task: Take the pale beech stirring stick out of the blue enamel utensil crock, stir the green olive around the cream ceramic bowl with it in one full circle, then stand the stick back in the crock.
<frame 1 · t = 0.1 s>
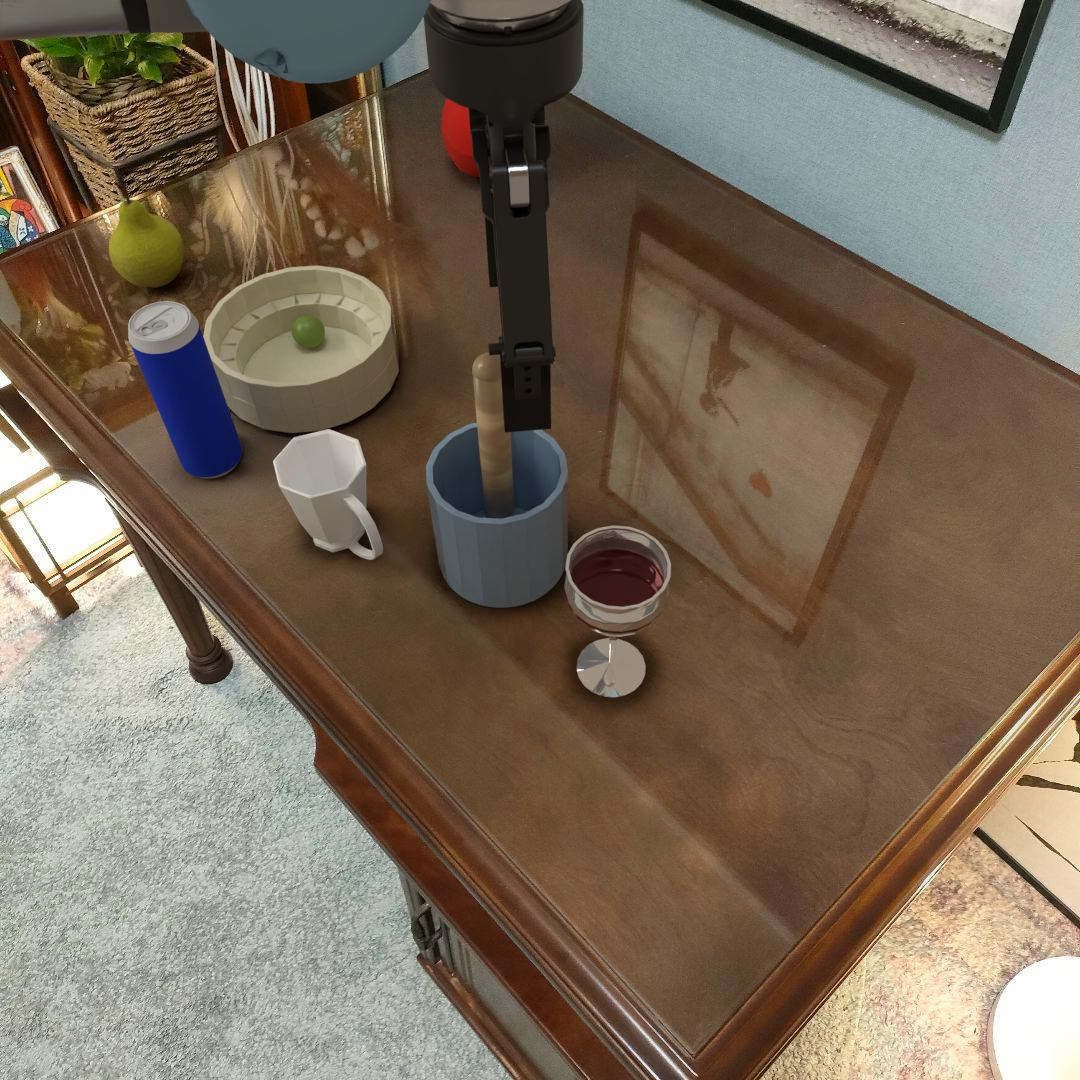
hand: (517, 350, 64), 21 cm above the table, tool pointing down, fingers open, 13 cm apart
bowl: (311, 374, 94), on the table
utensil pot: (503, 555, 80), on the table
stick: (502, 551, 80), point 1 cm above the table, touching utensil pot
fruit: (159, 281, 103), on the table
wineglass: (610, 668, 74), on the table
beverage can: (214, 461, 87), on the table
tomato: (493, 166, 115), on the table
olive: (308, 331, 94), point 2 cm above the table, touching bowl
cup: (348, 543, 81), on the table
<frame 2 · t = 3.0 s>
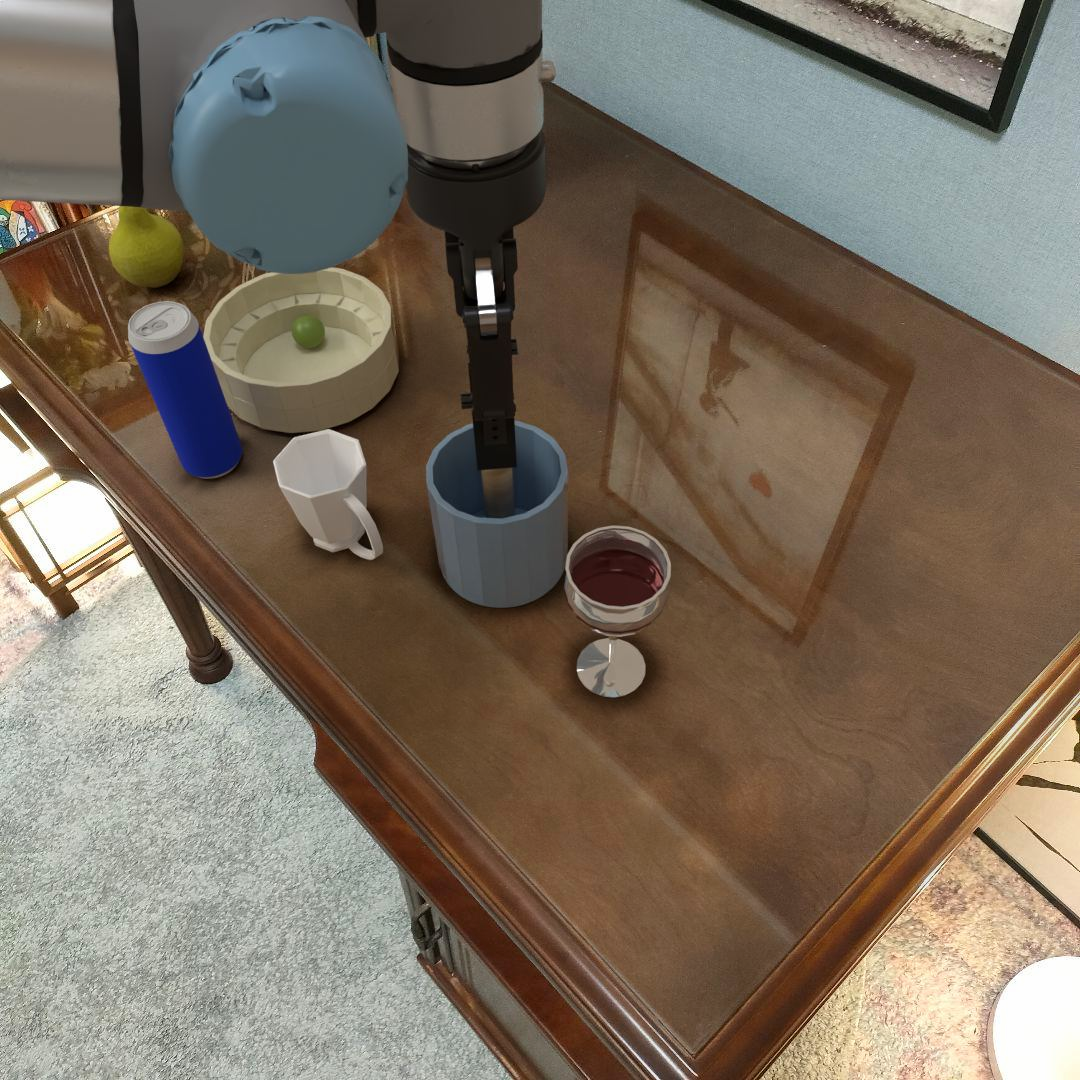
hand: (495, 449, 71), 12 cm above the table, tool pointing down, fingers closed on stick, 2 cm apart
stick: (502, 551, 80), point 1 cm above the table, touching gripper, utensil pot
everything else where it was.
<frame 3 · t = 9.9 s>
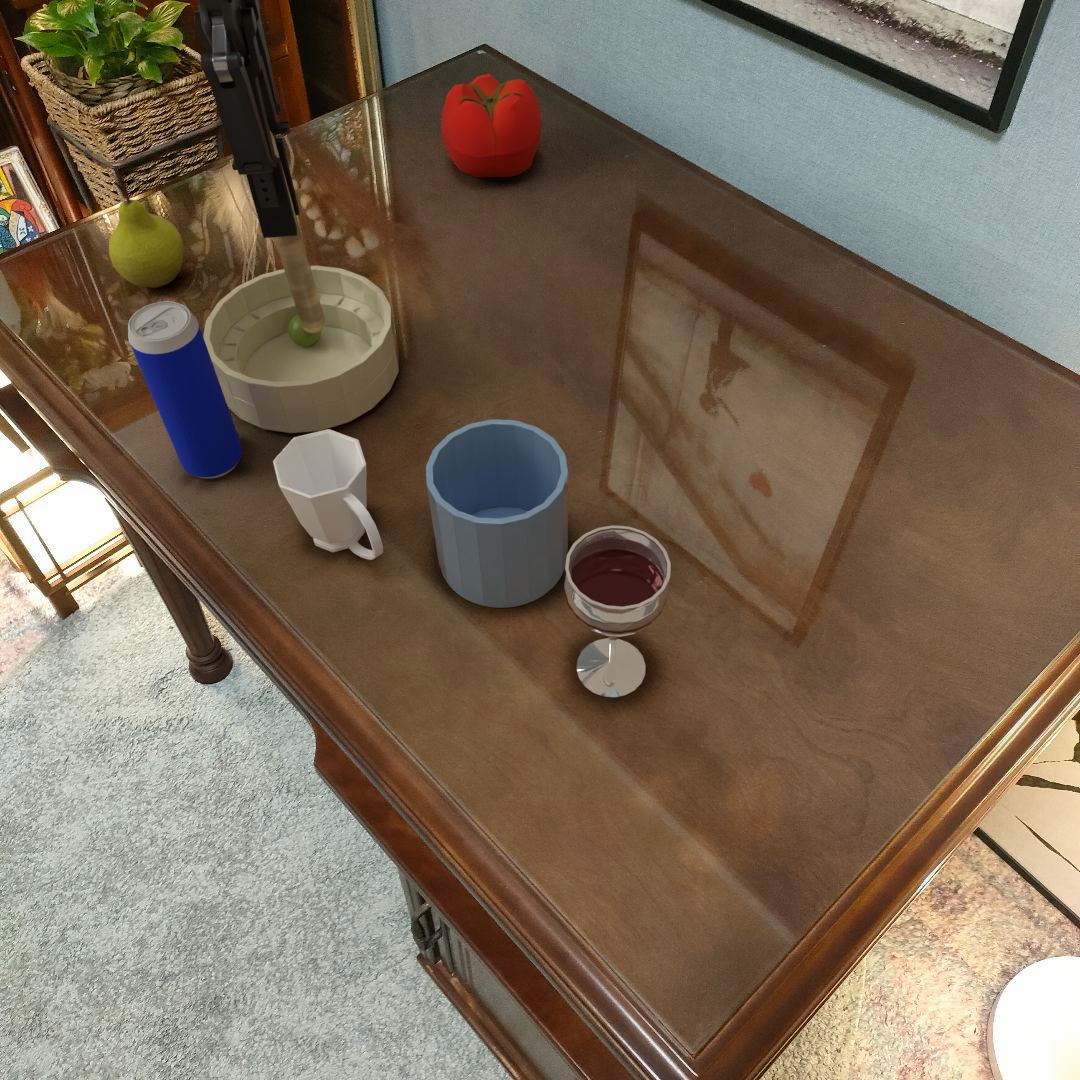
hand: (281, 223, 84), 14 cm above the table, tool pointing down, fingers closed on stick, 2 cm apart
stick: (315, 330, 93), point 3 cm above the table, touching gripper, olive
olive: (304, 330, 94), point 2 cm above the table, tilted 18°, touching bowl, stick
everything else where it was.
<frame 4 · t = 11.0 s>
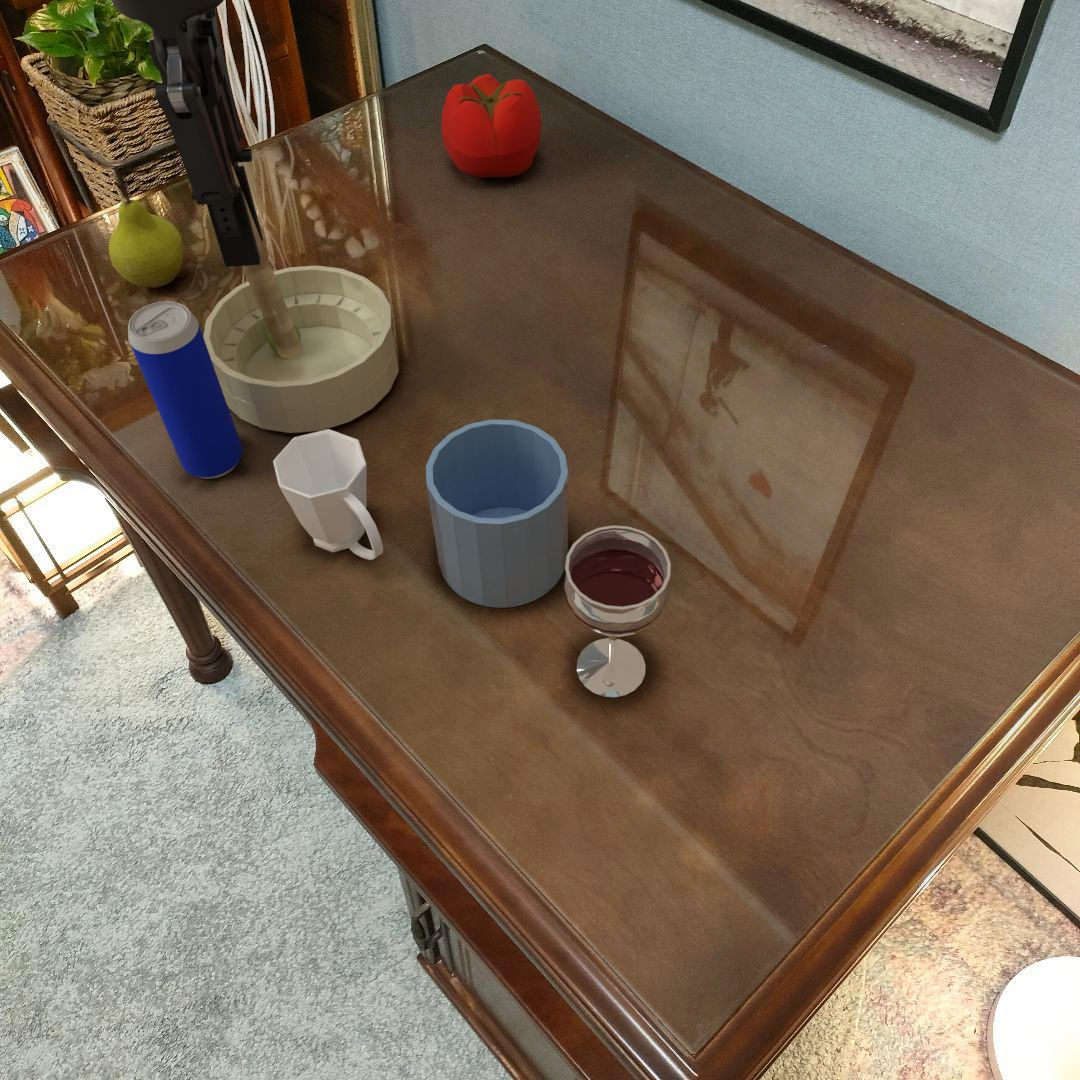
hand: (244, 252, 82), 14 cm above the table, tool pointing down, fingers closed on stick, 2 cm apart
stick: (292, 356, 91), point 3 cm above the table, tilted 6°, touching gripper
olive: (284, 337, 94), point 2 cm above the table, tilted 84°, touching bowl
everything else where it was.
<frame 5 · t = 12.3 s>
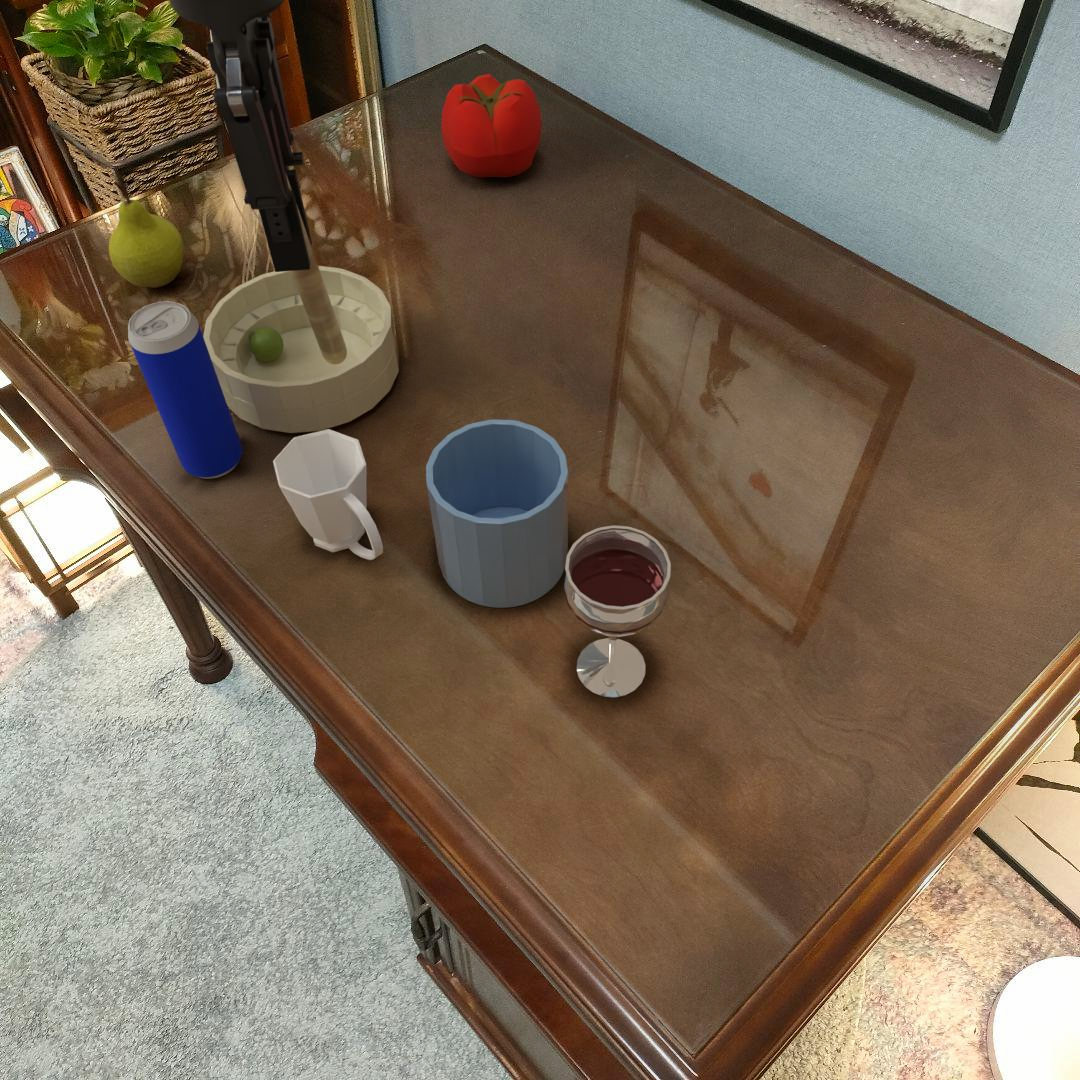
hand: (293, 256, 81), 14 cm above the table, tool pointing down, fingers closed on stick, 2 cm apart
stick: (337, 361, 90), point 3 cm above the table, tilted 6°, touching gripper
olive: (266, 344, 93), point 2 cm above the table, tilted 145°, touching bowl
everything else where it was.
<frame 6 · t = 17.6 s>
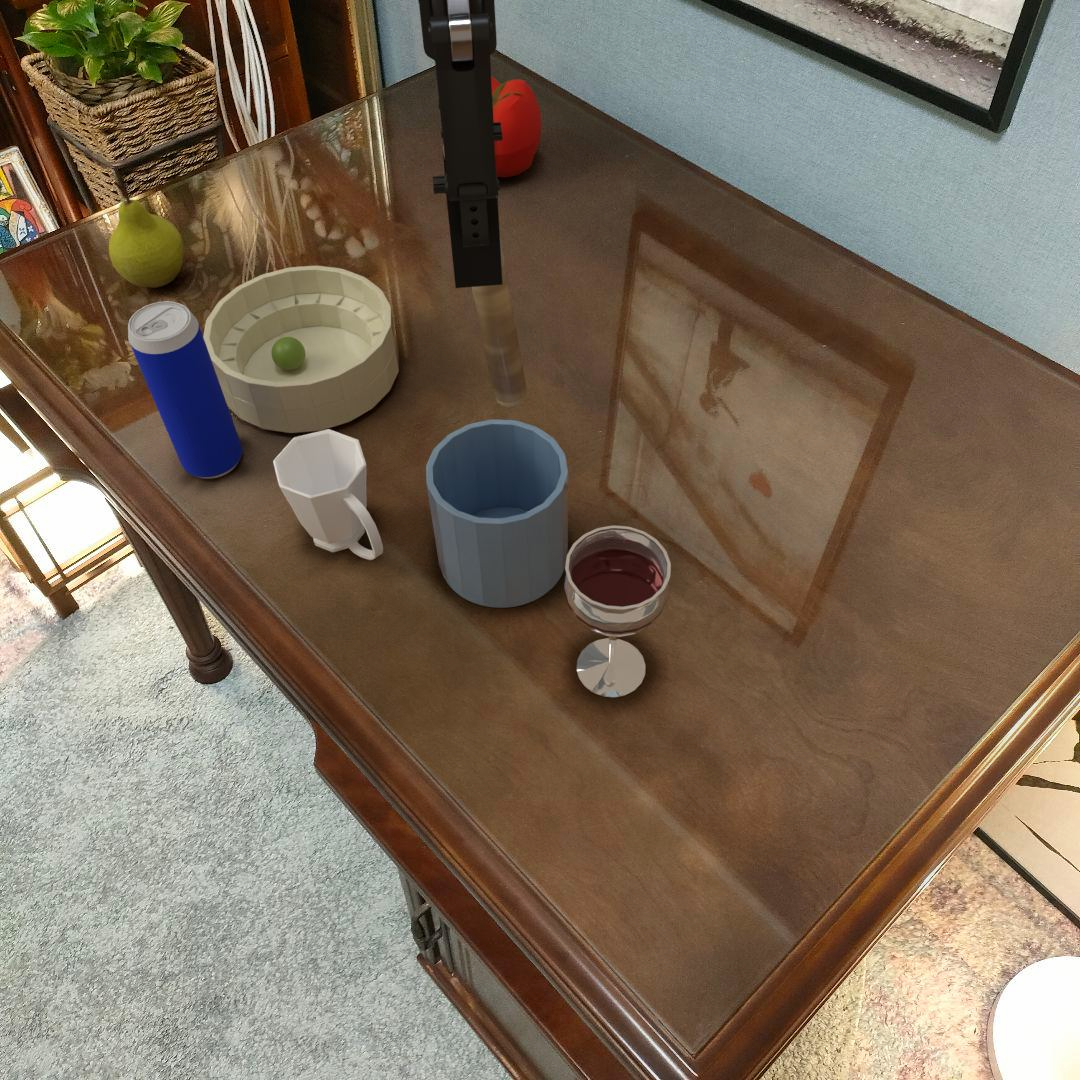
hand: (477, 266, 60), 27 cm above the table, tool pointing down, fingers closed on stick, 2 cm apart
stick: (512, 403, 68), point 16 cm above the table, tilted 6°, touching gripper
olive: (288, 353, 92), point 2 cm above the table, tilted 53°, touching bowl
everything else where it was.
when the fingers open (12 cm above the table, at t = 21.7 s): stick stays where it is, resting on utensil pot.
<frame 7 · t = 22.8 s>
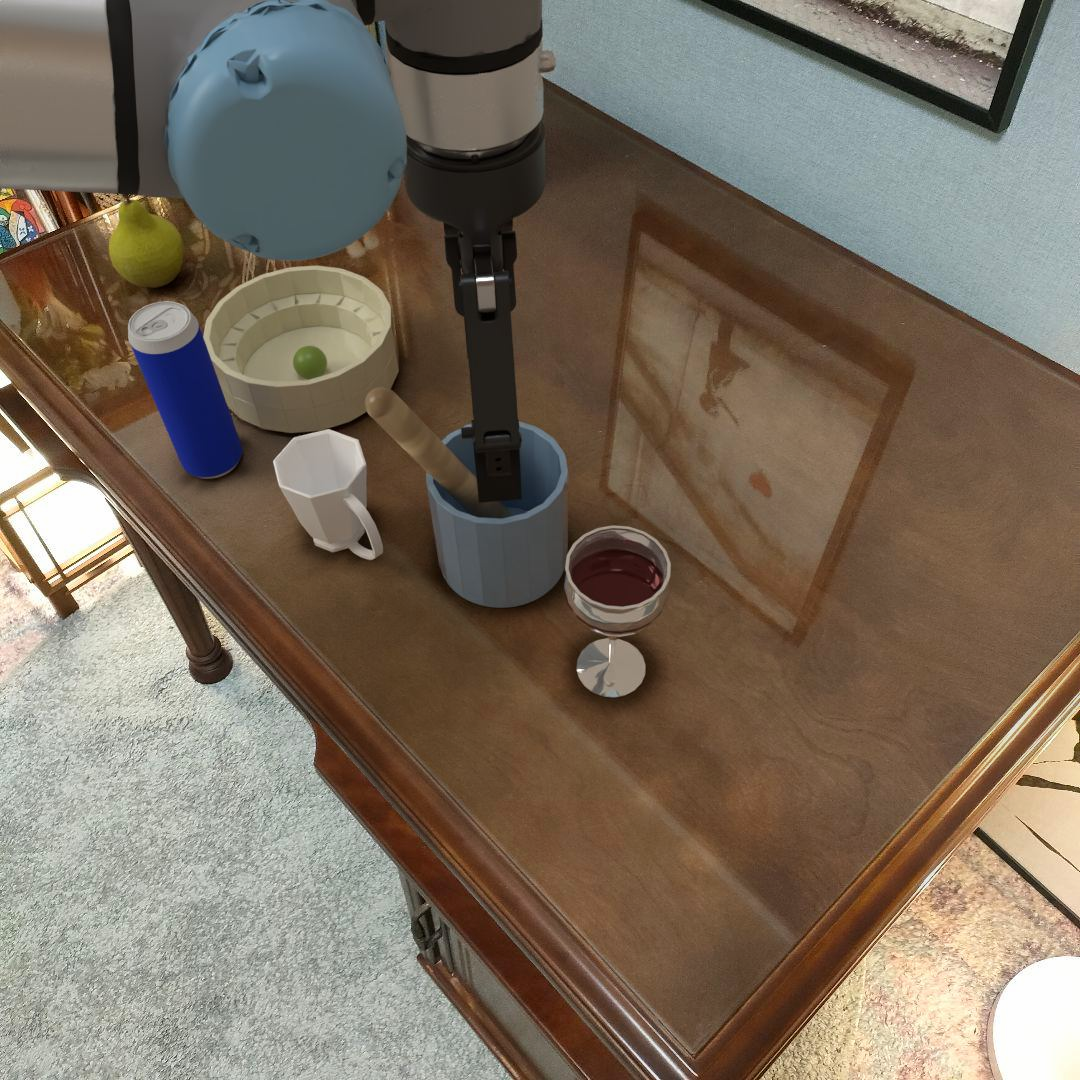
hand: (492, 421, 69), 15 cm above the table, tool pointing down, fingers open, 13 cm apart
stick: (524, 547, 80), point 1 cm above the table, tilted 28°, touching utensil pot
olive: (310, 362, 92), point 2 cm above the table, tilted 46°, touching bowl
everything else where it was.
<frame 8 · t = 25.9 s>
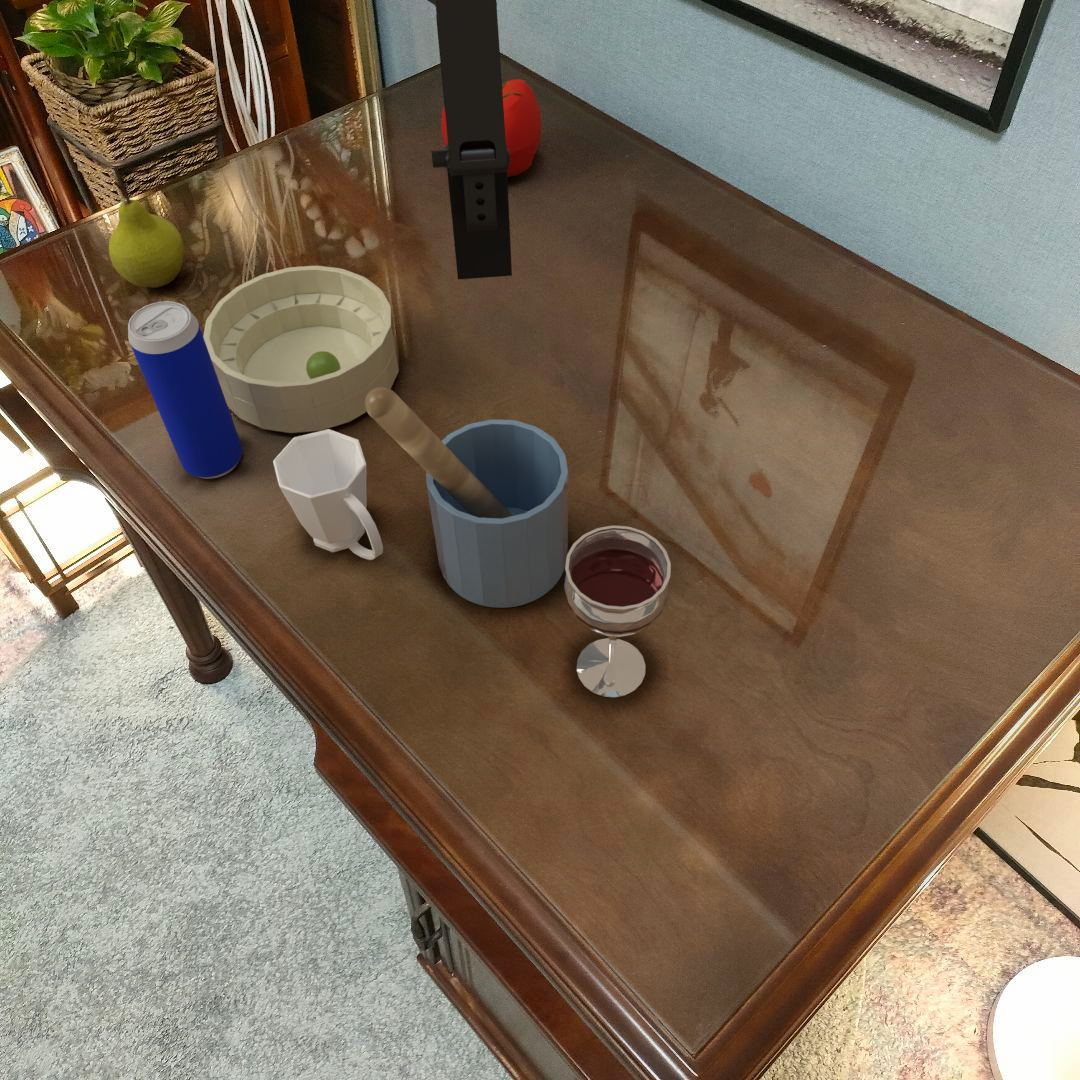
hand: (476, 197, 55), 32 cm above the table, tool pointing down, fingers open, 13 cm apart
olive: (323, 368, 91), point 2 cm above the table, tilted 100°, touching bowl
everything else where it was.
at the end: olive moved 5.5 cm from its start; stick inside the target area in the utensil pot (1.7 cm from its centre), point 0.7 cm above the utensil pot's base; the gripper is holding nothing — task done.
